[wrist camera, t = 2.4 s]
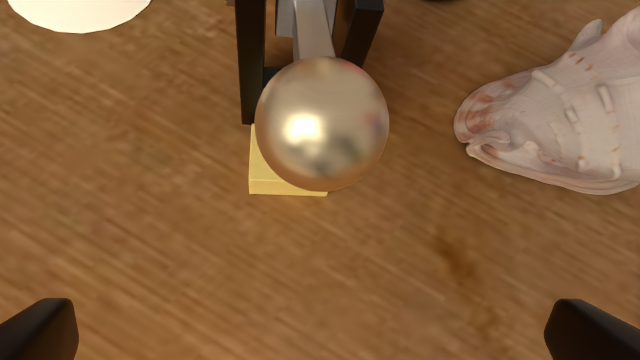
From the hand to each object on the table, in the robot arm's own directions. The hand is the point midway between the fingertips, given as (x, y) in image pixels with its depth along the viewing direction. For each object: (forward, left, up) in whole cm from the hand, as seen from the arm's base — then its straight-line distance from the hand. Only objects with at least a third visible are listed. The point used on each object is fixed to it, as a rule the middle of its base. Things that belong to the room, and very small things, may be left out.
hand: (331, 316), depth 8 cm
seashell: (+16, -10, -12) cm, 23 cm away
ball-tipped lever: (+7, +3, -4) cm, 9 cm away
